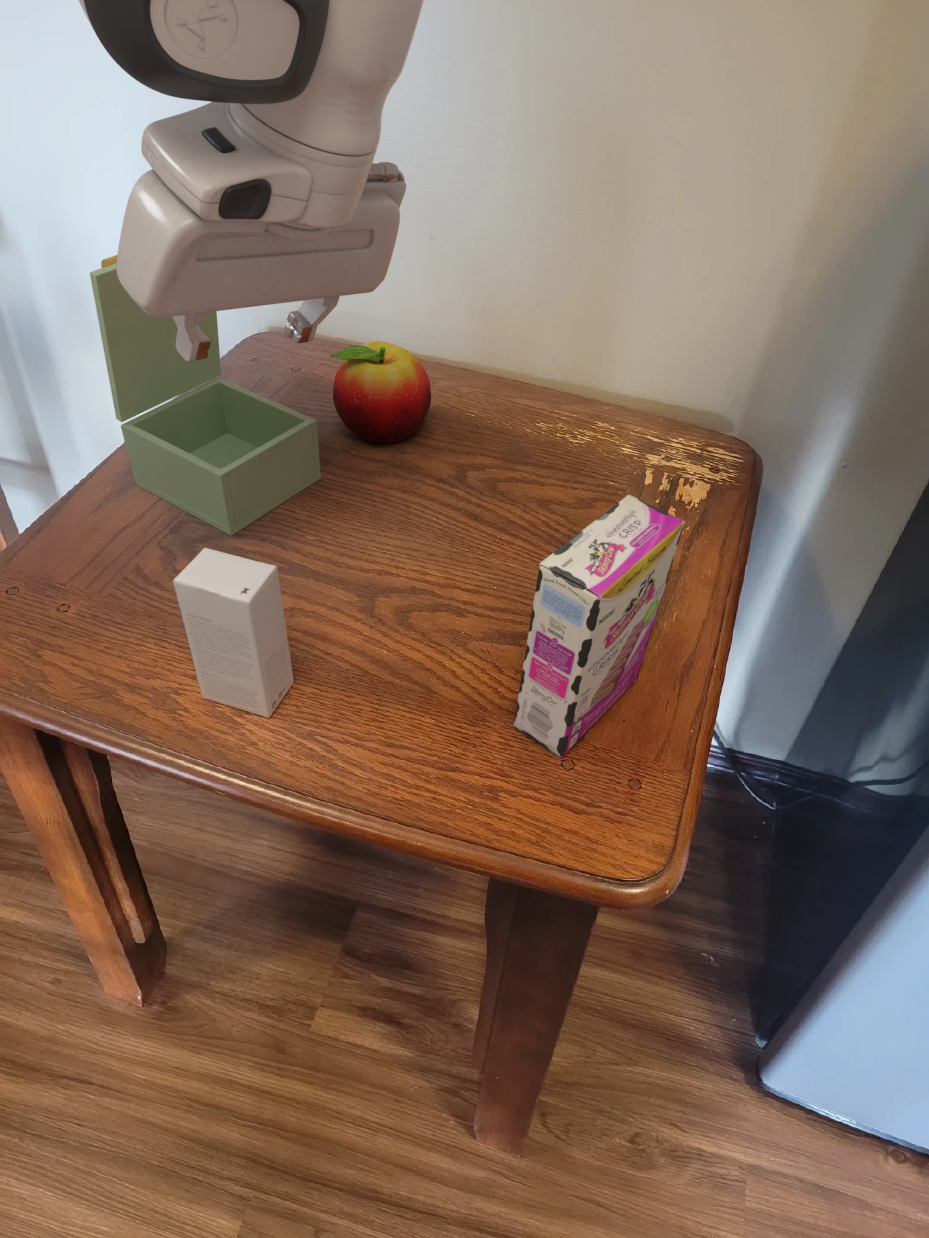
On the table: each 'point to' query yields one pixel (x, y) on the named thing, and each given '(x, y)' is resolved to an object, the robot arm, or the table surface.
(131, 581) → the table surface
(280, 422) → the chest
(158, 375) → the lid
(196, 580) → the cosmetic box
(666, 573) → the candy bar box
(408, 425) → the fruit
